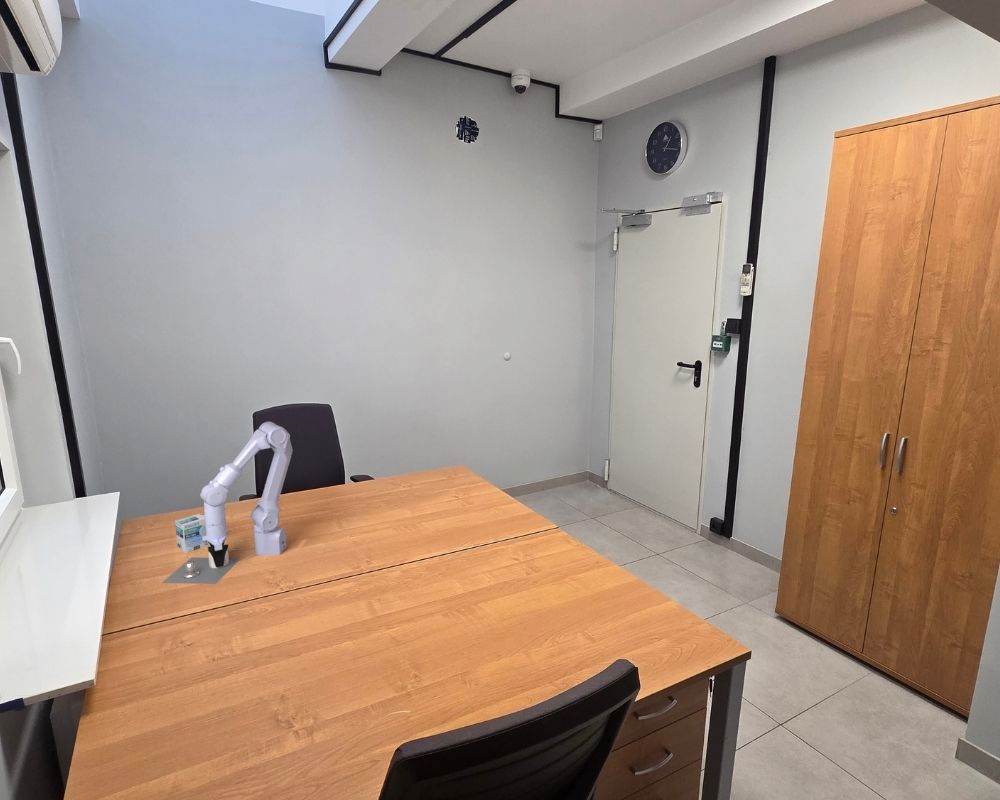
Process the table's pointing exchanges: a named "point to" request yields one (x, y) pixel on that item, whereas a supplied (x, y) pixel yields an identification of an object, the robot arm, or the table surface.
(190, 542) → the light bulb box
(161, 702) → the table surface
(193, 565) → the chrome cabinet knob
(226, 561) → the cap
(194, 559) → the base plate
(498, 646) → the table surface
